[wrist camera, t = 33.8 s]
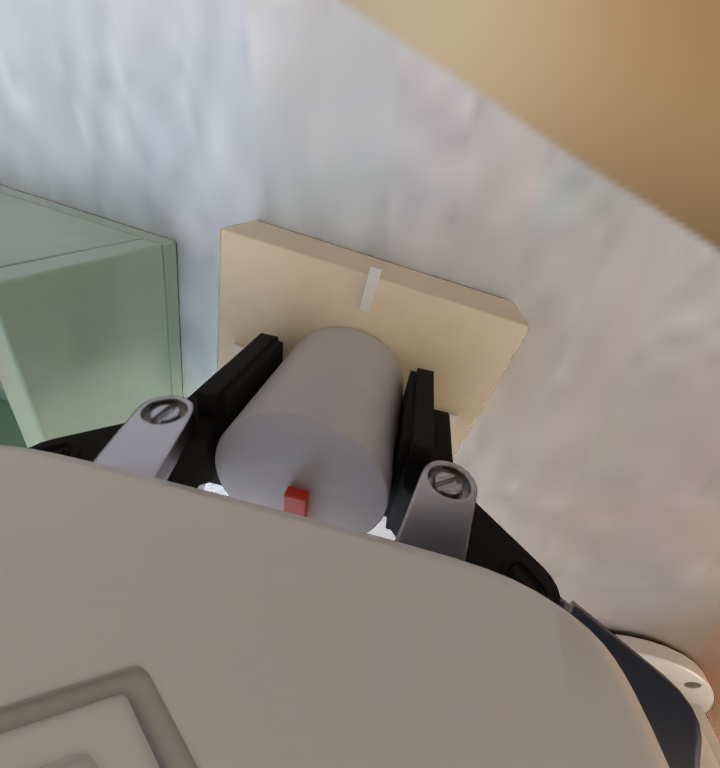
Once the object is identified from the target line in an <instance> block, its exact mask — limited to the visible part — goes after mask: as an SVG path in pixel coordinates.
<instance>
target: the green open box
mask: <svg viewBox="0 0 720 768" xmlns="http://www.w3.org/2000/svg"><path fill="white" fill-rule="evenodd" d="M166 395H176V396H181V397H183V393H182V371H181V349H180V326H179V304H178V282H177V260H176V242H175V241H173V240H170V239H167V238H164V237H161V236H158V235H154V234H151V233H148V232H145V231H142V230H139V229H136V228H133V227H129V226H126V225H123V224H120V223H117V222H114V221H111V220H108V219H104V218H101V217H98V216H95V215H92V214H89V213H86V212H83V211H79V210H76V209H73V208H70V207H67V206H64V205H61V204H58V203H54V202H51V201H48V200H45V199H42V198H39V197H36V196H33V195H29V194H26V193H23V192H20V191H17V190H14V189H11V188H8V187H4V186H1V185H0V445H7V446H14V447H22V448H30V447H32V446H34V445H36V444H38V443H41V442H44V441H47V440H51V439H55V438H59V437H64V436H68V435H73V434H77V433H82V432H86V431H91V430H95V429H100V428H104V427H109V426H113V425H118V424H122V423H125V422H126V421H127V419H128V418H129V417H130V416H131V415H132V413H133V412H134V411H135V410H136V408H138V407H139V406H140V405H141V404H142V403H144V402H146V401H148V400H150V399H153V398H156V397H160V396H166Z"/></svg>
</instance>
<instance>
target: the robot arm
mask: <svg viewBox="0 0 720 768" xmlns="http://www.w3.org/2000/svg"><path fill="white" fill-rule="evenodd" d="M282 362H283V342H282V341H279V339H278V337H277V336H274V335H269V334H265V333H261V334H259V335H258V336H257V337H256V338H255V339H254V340H253V341H251V342H250V343H249V344H248V345H247V346H246V347H245V348H244V349H243V350H241V351H240V352H239V353H238V354H237V355H236V356H235V357H234V358H232V359H231V360H230V361H229V362H228V363H227V364H225V365H224V366H223V367H222V368H221V369H220V370H219V371H218V372H216V373H215V374H214V375H213V376H212V377H211V378H210V379H209V380H208V381H206V382H205V383H204V384H203V385H202V386H201V387H200V388H199V389H197V390H196V391H195V392H194V393H193V394H192V395H191V396H190V397H188V398H187V399H186V398H184V397H181V396H176V395H166V396H160V397H156V398H153V399H150V400H148V401H146V402H144V403H142V404H141V405H140V406H139V407H138V408H136V410H135V411H134V412H133V413H132V415H131V416H130V417H129V418H128V419H127V421H126V422H125V423H122V424H118V425H113V426H109V427H104V428H100V429H95V430H91V431H86V432H82V433H77V434H73V435H68V436H64V437H59V438H55V439H51V440H47V441H44V442H41V443H38V444H36V445H34V446H32V447H30V448H22V447H14V446H7V445H0V768H720V742H719V741H718V739H717V737H716V735H715V733H714V731H713V729H712V727H711V725H710V723H709V721H708V719H707V717H706V715H705V713H706V712H707V711H709V709H710V707H711V706H712V704H713V702H714V692H713V690H712V688H711V686H710V685H709V683H708V681H707V679H706V677H705V675H704V673H703V672H702V670H701V669H700V668H699V667H698V666H697V664H696V663H694V662H693V661H692V660H690V659H689V658H687V657H686V656H684V655H683V654H681V653H679V652H677V651H675V650H673V649H671V648H668V647H666V646H663V645H660V644H657V643H654V642H651V641H648V640H644V639H640V638H635V637H631V636H625V635H618V634H613V633H612V632H611V631H609V630H608V629H607V628H606V627H605V626H603V625H602V624H601V623H600V622H598V621H597V620H596V619H595V618H593V617H592V616H591V615H590V614H589V613H587V612H586V611H585V610H584V609H582V608H581V607H580V606H579V605H578V604H576V603H575V602H574V601H572V602H571V603H570V604H568V603H567V602H566V601H565V600H563V599H562V598H561V597H560V595H559V592H558V588H557V586H556V584H555V582H554V581H553V579H552V577H551V576H550V575H549V573H548V572H547V571H546V570H545V569H544V568H543V567H542V566H541V565H540V564H539V563H538V562H537V561H536V560H535V559H534V558H533V557H532V556H531V555H530V554H529V553H528V552H527V551H526V550H525V549H524V548H523V547H521V546H520V545H519V544H518V543H517V542H516V541H515V540H514V539H513V538H512V537H511V536H510V535H509V534H508V533H507V532H506V531H505V530H504V529H503V528H502V527H501V526H500V525H499V524H497V523H496V522H495V521H494V520H493V519H492V518H491V517H490V516H489V515H488V514H487V513H486V512H485V511H484V510H483V509H482V508H481V507H480V506H479V505H478V504H477V503H476V497H477V485H476V483H475V480H474V479H473V477H472V476H471V475H470V474H469V472H467V471H466V470H465V469H464V468H462V467H461V466H459V465H457V464H455V463H453V456H452V442H451V428H450V416H449V413H448V412H444V411H440V410H436V409H434V371H430V370H425V369H421V368H418V369H417V371H411V372H410V375H409V379H408V382H407V386H406V390H405V393H404V397H403V401H402V408H401V416H400V423H399V431H398V438H397V445H396V453H395V460H394V468H393V475H392V483H391V490H390V497H389V503H388V508H387V510H386V512H385V515H384V516H386V517H387V522H386V528H387V529H390V530H391V531H392V532H393V534H394V535H395V536H396V539H395V541H393V540H389V539H386V538H382V537H378V536H375V535H371V534H367V533H363V532H360V531H356V530H352V529H349V528H345V527H341V526H337V525H334V524H330V523H326V522H323V521H319V520H315V519H311V518H308V517H304V516H300V515H296V514H293V513H289V512H285V511H281V510H277V509H274V508H270V507H266V506H262V505H258V504H255V503H251V502H247V501H243V500H239V499H236V498H232V497H228V496H224V495H220V494H217V493H213V492H209V491H205V490H204V486H205V484H206V483H209V482H211V483H214V484H218V485H222V484H221V482H220V480H219V477H218V474H217V470H216V466H215V454H216V448H217V445H218V442H219V440H220V438H221V436H222V435H223V433H224V432H225V431H226V430H227V428H228V427H229V426H230V425H231V424H232V422H233V421H234V420H235V419H236V417H237V416H238V415H239V414H240V413H241V411H242V410H243V409H244V408H245V407H246V405H247V404H248V403H249V402H250V400H251V399H252V398H253V397H254V396H255V394H256V393H257V392H258V391H259V390H260V388H261V387H262V386H263V385H264V384H265V382H266V381H267V380H268V379H269V377H270V376H271V375H272V374H273V373H274V371H275V370H276V369H277V368H278V367H279V365H280V364H281V363H282Z"/></svg>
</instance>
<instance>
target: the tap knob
mask: <svg viewBox="0 0 720 768" xmlns="http://www.w3.org/2000/svg"><path fill="white" fill-rule="evenodd" d="M403 393H404V379H403V374H402V371H401V368H400V366H399V363H398V361H397V360H396V358H395V357H394V355H393V354H392V353H391V351H390V350H389V349H388V348H387V347H386V346H385V345H384V344H383V343H381V342H380V341H379V340H377V339H376V338H374V337H372V336H371V335H369V334H367V333H364V332H362V331H359V330H355V329H352V328H345V327H331V328H325V329H321V330H318V331H315V332H313V333H311V334H309V335H307V336H306V337H304V338H303V339H302V340H301V341H300V342H299V343H298V344H297V345H296V346H295V347H294V348H293V350H292V351H291V352H290V353H289V354H288V356H287V357H286V358H285V359H284V361H283V362H282V363H281V364H280V365H279V367H278V368H277V369H276V370H275V371H274V373H273V374H272V375H271V376H270V377H269V379H268V380H267V381H266V382H265V384H264V385H263V386H262V387H261V388H260V390H259V391H258V392H257V393H256V394H255V396H254V397H253V398H252V399H251V400H250V402H249V403H248V404H247V405H246V407H245V408H244V409H243V410H242V411H241V413H240V414H239V415H238V416H237V417H236V419H235V420H234V421H233V422H232V424H231V425H230V426H229V427H228V428H227V430H226V431H225V432H224V433H223V435H222V436H221V438H220V440H219V442H218V445H217V448H216V454H215V466H216V470H217V474H218V477H219V480H220V482H221V484H222V486H223V488H224V490H225V491H226V492H227V494H228V495H229V497H232V498H236V499H239V500H243V501H247V502H251V503H255V504H258V505H262V506H266V507H270V508H274V509H277V510H281V511H285V512H289V513H293V514H296V515H300V516H304V517H308V518H311V519H315V520H319V521H323V522H326V523H330V524H334V525H337V526H341V527H345V528H349V529H352V530H356V531H360V532H363V533H367V532H369V531H370V530H372V529H373V528H374V527H375V526H376V525H377V524H378V523H379V522H380V521H381V519H382V518H383V516H384V515H385V512H386V510H387V508H388V503H389V497H390V490H391V483H392V475H393V468H394V460H395V453H396V445H397V438H398V431H399V423H400V416H401V408H402V401H403Z"/></svg>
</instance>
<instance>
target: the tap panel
mask: <svg viewBox="0 0 720 768" xmlns="http://www.w3.org/2000/svg"><path fill="white" fill-rule="evenodd" d="M331 327H345V328H352V329H355V330H359V331H362V332H364V333H367V334H369V335H371V336H372V337H374V338H376V339H377V340H379V341H380V342H381V343H383V344H384V345H385V346H386V347H387V348H388V349H389V350H390V351H391V353H392V354H393V355H394V357H395V358H396V360H397V361H398V363H399V366H400V368H401V371H402V374H403V379H404V393H405V390H406V386H407V382H408V379H409V375H410V372H411V371H417V369H418V368H421V369H425V370H430V371H434V409H436V410H440V411H444V412H448V413H449V416H450V428H451V442H452V456H453V457H454V455H455V454H456V452H457V450H458V449H459V447H460V445H461V444H462V442H463V440H464V438H465V437H466V435H467V433H468V432H469V430H470V428H471V426H472V425H473V423H474V421H475V420H476V418H477V416H478V415H479V413H480V411H481V409H482V408H483V406H484V404H485V403H486V401H487V399H488V397H489V396H490V394H491V392H492V391H493V389H494V387H495V386H496V384H497V382H498V380H499V379H500V377H501V375H502V374H503V372H504V370H505V368H506V367H507V365H508V363H509V362H510V360H511V358H512V357H513V355H514V353H515V351H516V350H517V348H518V346H519V345H520V343H521V341H522V339H523V338H524V336H525V334H526V333H527V331H528V329H529V325H528V323H527V322H526V320H525V319H524V317H523V316H522V314H521V313H520V311H519V310H518V308H517V307H516V305H515V304H514V302H512V301H509V300H506V299H503V298H500V297H497V296H494V295H490V294H487V293H484V292H481V291H478V290H475V289H471V288H468V287H465V286H462V285H459V284H456V283H453V282H449V281H446V280H443V279H440V278H437V277H434V276H431V275H427V274H424V273H421V272H418V271H415V270H412V269H408V268H405V267H402V266H399V265H396V264H393V263H390V262H386V261H383V260H380V259H377V258H374V257H371V256H368V255H364V254H361V253H358V252H355V251H352V250H349V249H345V248H342V247H339V246H336V245H333V244H330V243H327V242H323V241H320V240H317V239H314V238H311V237H308V236H304V235H301V234H298V233H295V232H292V231H289V230H286V229H282V228H279V227H276V226H273V225H270V224H267V223H264V222H260V221H257V220H255V221H251V222H246V223H242V224H238V225H233V226H229V227H224V228H221V237H220V277H219V318H218V358H217V372H218V371H219V370H220V369H221V368H222V367H223V366H224V365H225V364H227V363H228V362H229V361H230V360H231V359H232V358H234V357H235V356H236V355H237V354H238V353H239V352H240V351H241V350H243V349H244V348H245V347H246V346H247V345H248V344H249V343H250V342H251V341H253V340H254V339H255V338H256V337H257V336H258V335H259V334H261V333H265V334H269V335H274V336H277V337H278V339H279V341H282V342H283V361H284V359H285V358H286V357H287V356H288V354H289V353H290V352H291V351H292V350H293V348H294V347H295V346H296V345H297V344H298V343H299V342H300V341H301V340H302V339H303V338H304V337H306V336H307V335H309V334H311V333H313V332H315V331H318V330H321V329H325V328H331ZM404 393H403V397H404Z"/></svg>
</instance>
